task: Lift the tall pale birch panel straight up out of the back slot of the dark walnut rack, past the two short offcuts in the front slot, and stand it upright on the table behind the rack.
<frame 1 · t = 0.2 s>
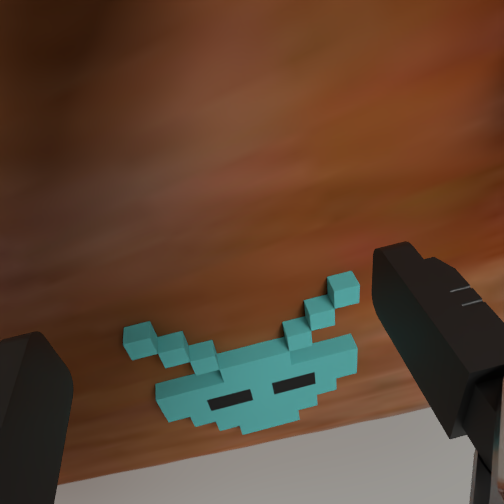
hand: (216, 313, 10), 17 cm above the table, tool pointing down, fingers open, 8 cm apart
alien figure: (254, 359, 42), on the table
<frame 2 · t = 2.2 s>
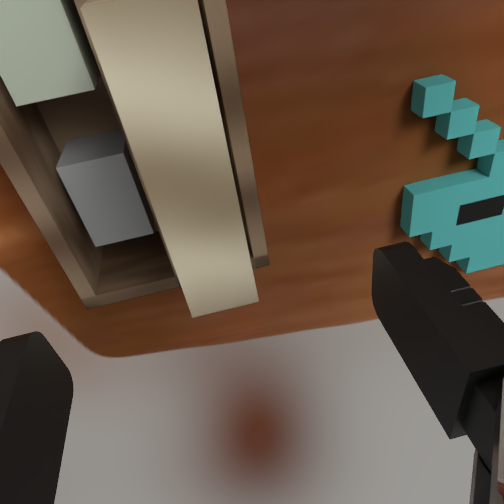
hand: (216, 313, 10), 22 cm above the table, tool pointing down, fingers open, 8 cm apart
grey offcut: (113, 174, 29), point 1 cm above the table, touching walnut rack
birch panel: (175, 76, 26), point 1 cm above the table, touching walnut rack
sage offcut: (43, 5, 23), point 1 cm above the table, touching walnut rack
walnut rack: (125, 82, 27), on the table
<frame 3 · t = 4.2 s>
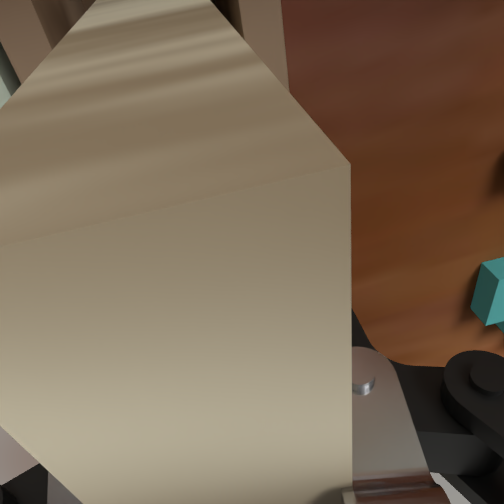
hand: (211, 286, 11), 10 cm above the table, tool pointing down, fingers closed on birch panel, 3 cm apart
birch panel: (189, 146, 18), point 1 cm above the table, touching gripper, walnut rack
walnut rack: (116, 153, 18), on the table
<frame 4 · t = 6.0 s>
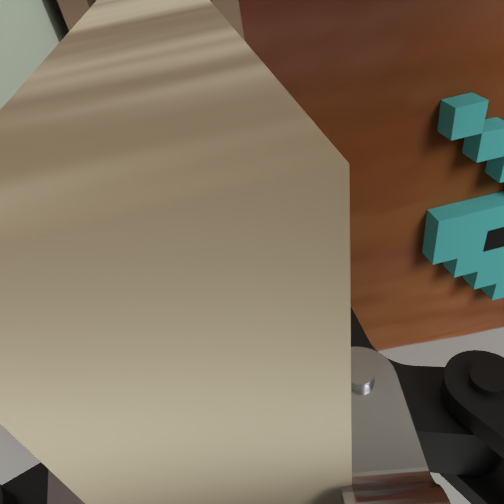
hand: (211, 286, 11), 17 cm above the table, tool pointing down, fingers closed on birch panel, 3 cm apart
birch panel: (189, 146, 18), point 8 cm above the table, touching gripper
sage offcut: (34, 25, 20), point 1 cm above the table, touching walnut rack
walnut rack: (126, 107, 24), on the table
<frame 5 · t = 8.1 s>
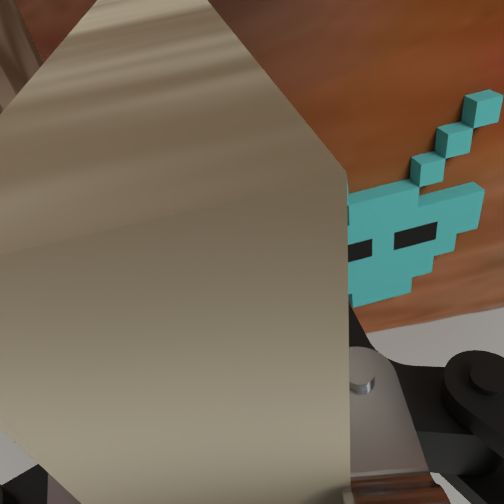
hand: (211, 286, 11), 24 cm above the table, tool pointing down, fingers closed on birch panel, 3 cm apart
alien figure: (372, 213, 41), on the table
birch panel: (189, 147, 18), point 14 cm above the table, touching gripper
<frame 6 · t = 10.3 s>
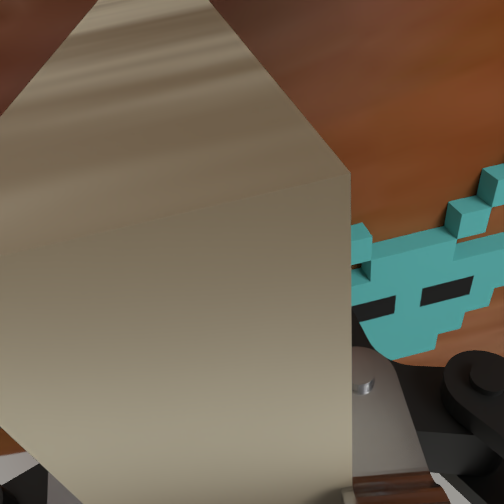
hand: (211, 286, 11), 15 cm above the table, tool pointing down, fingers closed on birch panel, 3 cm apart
alien figure: (396, 262, 35), on the table
birch panel: (189, 147, 18), point 6 cm above the table, touching gripper
when the fingers open (10 cm above the table, at t = 12.2 s): birch panel drops 1 cm, on the table.
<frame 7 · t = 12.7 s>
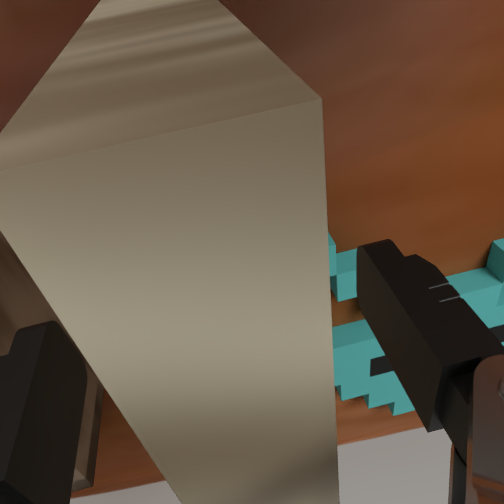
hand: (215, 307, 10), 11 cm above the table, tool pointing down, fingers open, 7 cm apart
alien figure: (429, 305, 31), on the table
birch panel: (189, 135, 19), on the table
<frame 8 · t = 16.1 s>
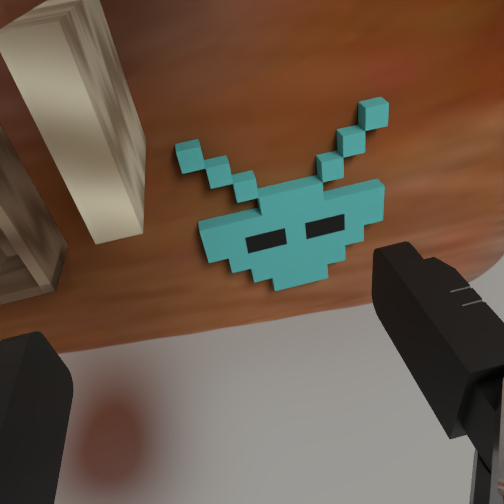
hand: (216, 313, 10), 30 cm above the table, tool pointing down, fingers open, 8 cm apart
alien figure: (288, 205, 46), on the table
birch panel: (105, 76, 34), on the table
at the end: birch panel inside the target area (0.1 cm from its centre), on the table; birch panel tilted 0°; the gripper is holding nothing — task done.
